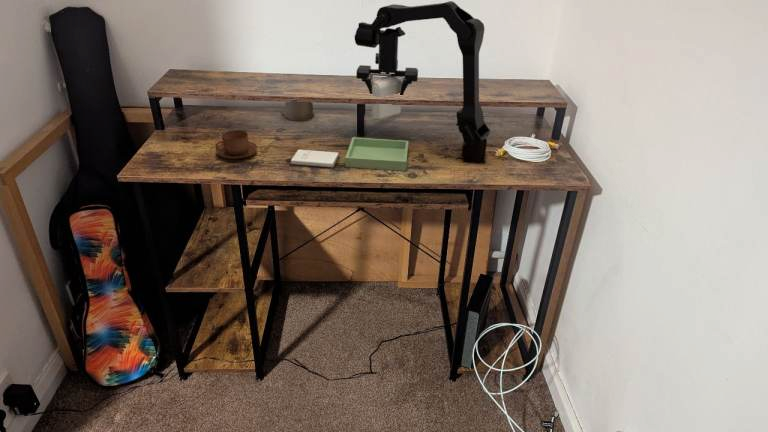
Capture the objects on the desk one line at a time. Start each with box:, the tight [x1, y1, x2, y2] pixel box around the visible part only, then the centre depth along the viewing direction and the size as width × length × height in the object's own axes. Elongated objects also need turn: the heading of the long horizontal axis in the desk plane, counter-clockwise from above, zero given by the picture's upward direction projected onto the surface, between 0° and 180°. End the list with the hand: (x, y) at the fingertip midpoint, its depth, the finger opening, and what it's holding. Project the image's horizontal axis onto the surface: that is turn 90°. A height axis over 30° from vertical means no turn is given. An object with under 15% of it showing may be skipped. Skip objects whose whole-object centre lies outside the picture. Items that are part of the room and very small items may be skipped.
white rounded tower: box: [371, 76, 402, 120], centre depth 162 cm, size 10×4×12 cm, turn 129°
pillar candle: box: [284, 101, 314, 122], centre depth 180 cm, size 10×10×15 cm
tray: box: [344, 136, 409, 172], centre depth 154 cm, size 18×16×3 cm
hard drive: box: [290, 149, 340, 169], centre depth 151 cm, size 2×8×12 cm
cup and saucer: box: [215, 129, 258, 160], centre depth 152 cm, size 12×12×6 cm
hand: (386, 100), depth 163 cm, fingers closed on white rounded tower, 8 cm apart
